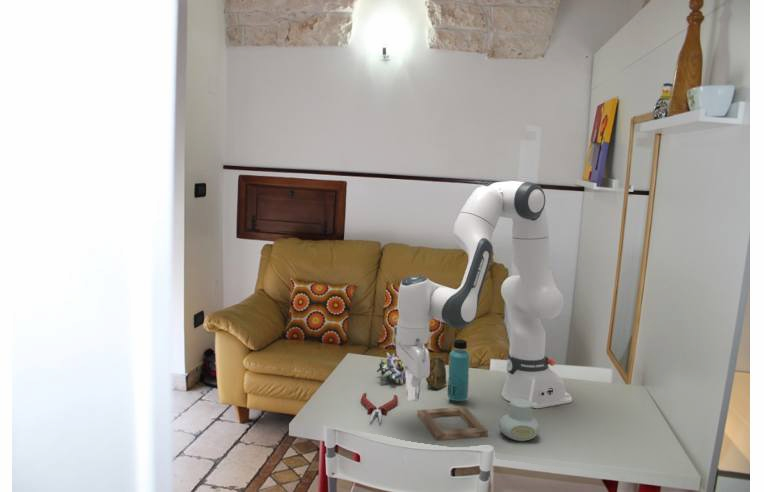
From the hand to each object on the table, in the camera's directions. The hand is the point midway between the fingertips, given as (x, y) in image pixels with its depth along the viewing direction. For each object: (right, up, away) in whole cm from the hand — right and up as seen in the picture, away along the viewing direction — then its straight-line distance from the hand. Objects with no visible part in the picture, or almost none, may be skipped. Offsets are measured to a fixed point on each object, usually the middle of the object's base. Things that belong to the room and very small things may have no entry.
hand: (411, 382), depth 172 cm
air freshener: (+30, -15, 0) cm, 33 cm away
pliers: (-11, -12, +14) cm, 22 cm away
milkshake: (0, -5, 0) cm, 5 cm away
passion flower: (-5, -8, +39) cm, 40 cm away
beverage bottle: (+15, -11, +22) cm, 29 cm away
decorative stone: (+10, -9, +35) cm, 38 cm away
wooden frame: (+12, -13, +5) cm, 18 cm away
